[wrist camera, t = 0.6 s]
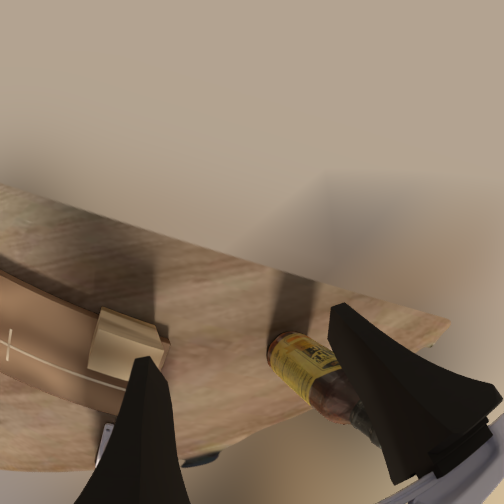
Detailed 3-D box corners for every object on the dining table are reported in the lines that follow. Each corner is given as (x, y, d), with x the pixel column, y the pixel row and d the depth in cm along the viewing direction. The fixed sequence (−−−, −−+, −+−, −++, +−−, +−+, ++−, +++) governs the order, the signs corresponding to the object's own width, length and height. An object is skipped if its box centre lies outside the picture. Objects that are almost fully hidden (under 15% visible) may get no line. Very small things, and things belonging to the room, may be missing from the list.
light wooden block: (143, 357, 29) (150, 387, 23) (91, 339, 26) (87, 368, 20) (155, 325, 29) (164, 350, 23) (101, 306, 26) (98, 328, 21)
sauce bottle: (311, 335, 38) (430, 401, 21) (290, 375, 38) (396, 455, 20) (276, 321, 36) (404, 397, 18) (253, 364, 35) (362, 462, 17)
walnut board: (140, 414, 29) (142, 422, 28) (-24, 350, 20) (-29, 356, 18) (168, 338, 30) (170, 344, 29) (-12, 262, 20) (-18, 265, 19)
